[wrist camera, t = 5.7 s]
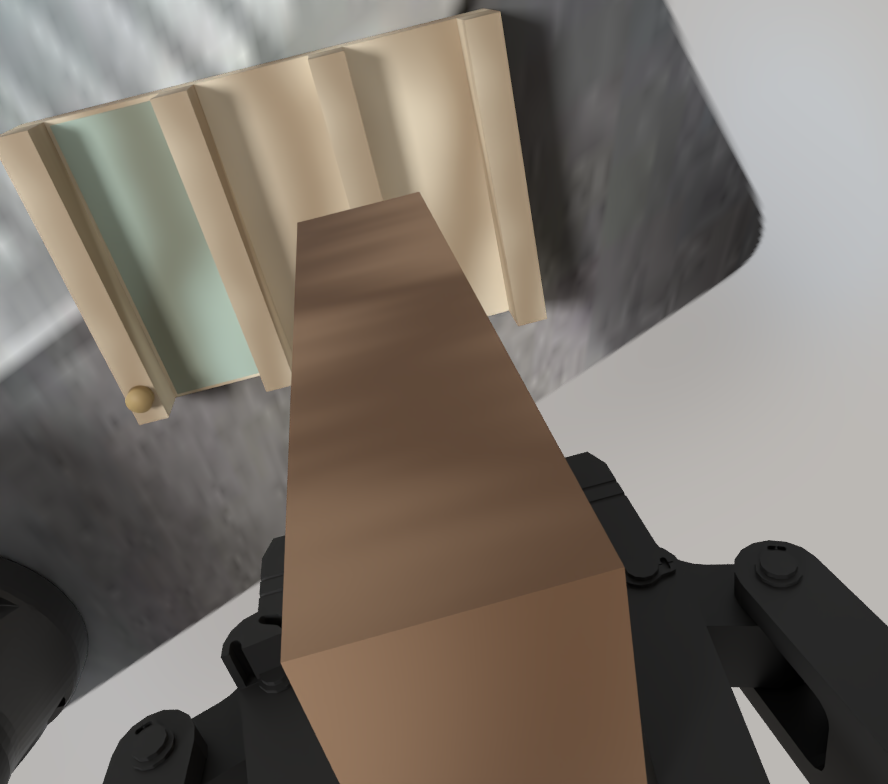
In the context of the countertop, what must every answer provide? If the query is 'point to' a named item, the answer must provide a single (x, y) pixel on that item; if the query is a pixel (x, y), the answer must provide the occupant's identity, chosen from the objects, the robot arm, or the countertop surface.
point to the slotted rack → (272, 196)
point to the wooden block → (439, 534)
